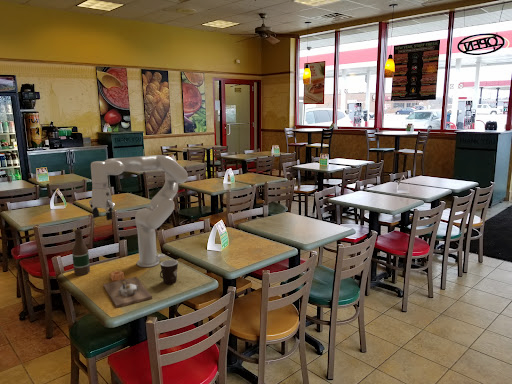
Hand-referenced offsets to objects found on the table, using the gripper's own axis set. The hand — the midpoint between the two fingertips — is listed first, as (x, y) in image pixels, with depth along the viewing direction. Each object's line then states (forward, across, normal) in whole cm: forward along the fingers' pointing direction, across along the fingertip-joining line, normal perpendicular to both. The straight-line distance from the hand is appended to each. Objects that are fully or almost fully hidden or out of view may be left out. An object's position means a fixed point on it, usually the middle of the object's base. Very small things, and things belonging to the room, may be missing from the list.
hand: (102, 218), depth 202 cm
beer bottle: (+31, +14, +4) cm, 34 cm away
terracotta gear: (+31, -9, +1) cm, 32 cm away
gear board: (+31, -25, +10) cm, 41 cm away
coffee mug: (+31, -35, -7) cm, 47 cm away
